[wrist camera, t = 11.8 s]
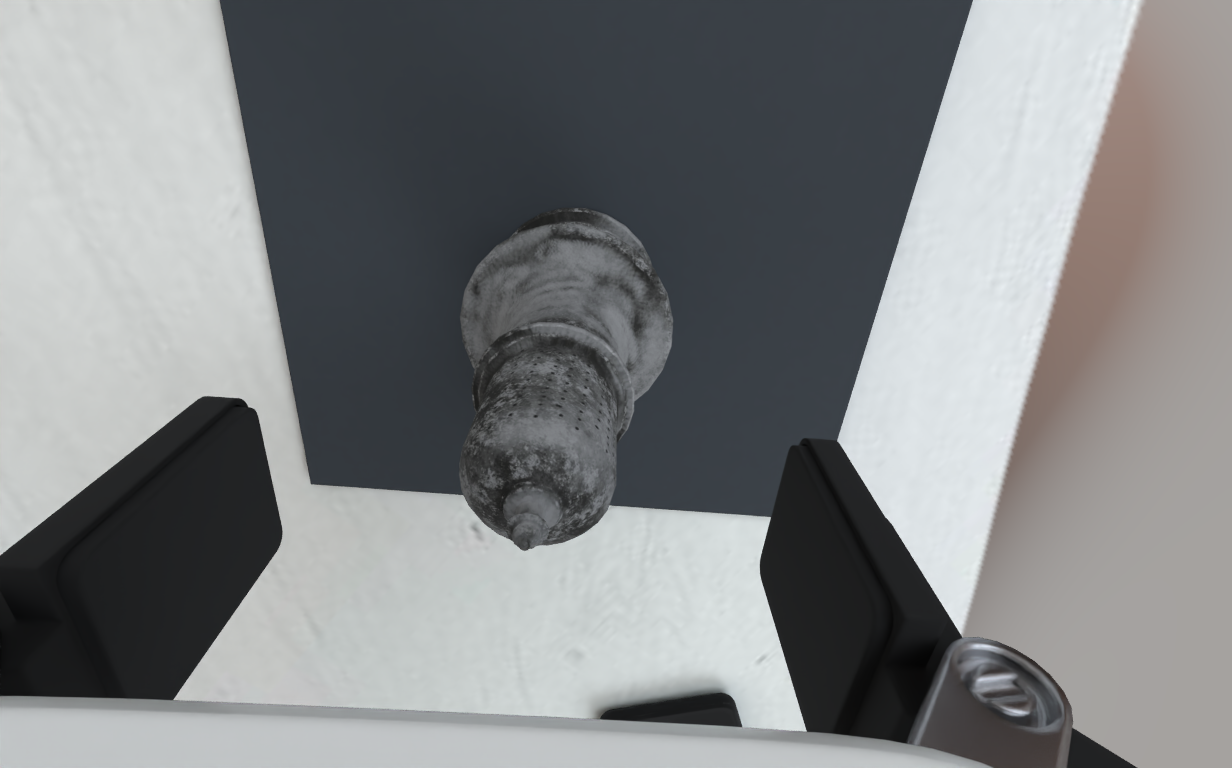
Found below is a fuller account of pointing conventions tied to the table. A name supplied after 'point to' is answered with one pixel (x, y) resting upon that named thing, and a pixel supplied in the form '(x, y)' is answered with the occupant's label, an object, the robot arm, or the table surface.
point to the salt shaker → (557, 371)
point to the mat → (597, 180)
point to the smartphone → (683, 711)
